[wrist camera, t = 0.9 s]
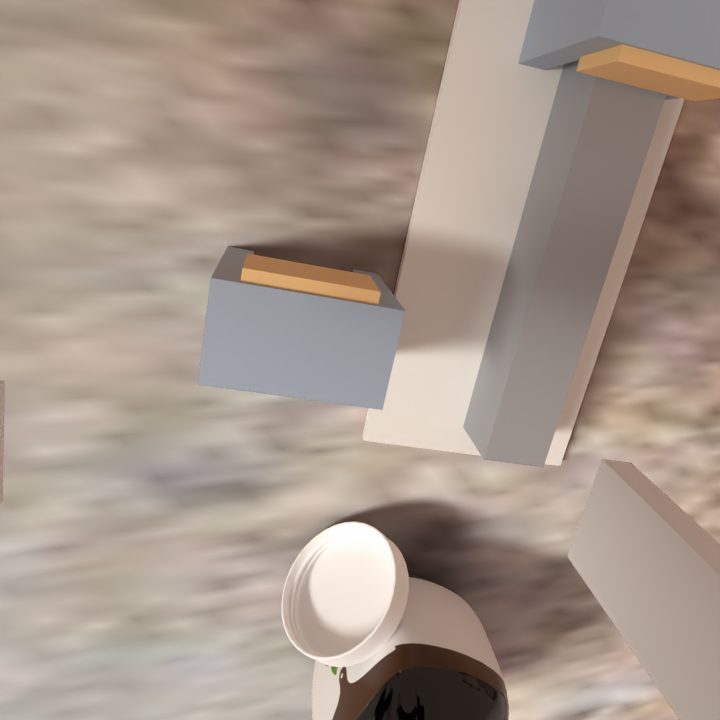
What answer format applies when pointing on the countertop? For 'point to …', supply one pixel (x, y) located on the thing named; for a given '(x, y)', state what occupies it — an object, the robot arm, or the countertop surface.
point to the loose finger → (299, 331)
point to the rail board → (482, 230)
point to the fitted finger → (631, 43)
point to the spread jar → (386, 635)
